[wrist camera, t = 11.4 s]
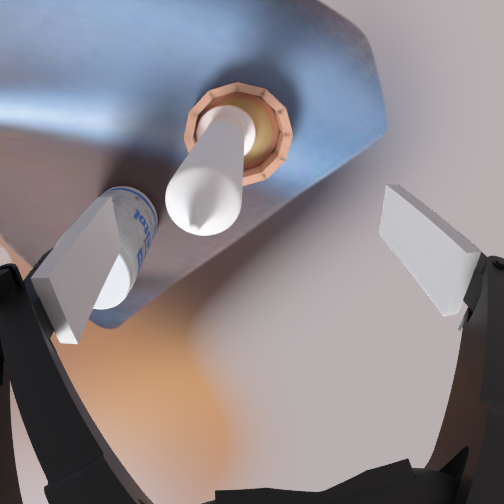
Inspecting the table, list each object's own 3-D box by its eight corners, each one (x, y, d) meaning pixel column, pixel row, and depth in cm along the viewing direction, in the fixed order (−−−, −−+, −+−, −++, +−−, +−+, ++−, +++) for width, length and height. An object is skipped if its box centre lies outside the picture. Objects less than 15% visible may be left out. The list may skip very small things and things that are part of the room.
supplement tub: (169, 235, 44) (149, 301, 31) (112, 254, 45) (79, 320, 32) (141, 172, 39) (104, 219, 27) (84, 197, 40) (34, 249, 27)
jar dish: (175, 101, 35) (170, 103, 32) (271, 72, 34) (275, 71, 31) (206, 188, 41) (204, 198, 38) (295, 162, 40) (302, 169, 37)
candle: (255, 104, 35) (268, 156, 14) (255, 160, 39) (266, 286, 17) (195, 105, 35) (114, 163, 14) (198, 161, 39) (139, 286, 17)
